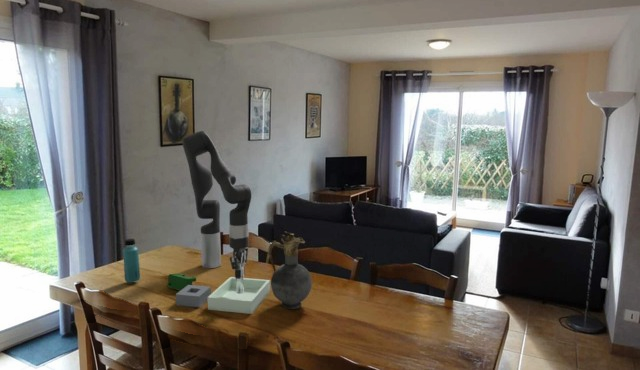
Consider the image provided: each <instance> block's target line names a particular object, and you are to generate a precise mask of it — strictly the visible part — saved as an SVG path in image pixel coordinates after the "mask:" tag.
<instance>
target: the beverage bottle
mask: <svg viewBox="0 0 640 370" xmlns="http://www.w3.org/2000/svg"><path fill="white" fill-rule="evenodd" d="M124 245H125V246H126V247H124V248H123V249H122V254H123V255H122V256H123V257H122V258H123V270H124V275H123V276H124V281H125V282H127V283H134V282H138V281H140V279H141V269H140V256H139V248H138V247H137V246H136V240H135V239H134V238H128V239H125V240H124Z"/></svg>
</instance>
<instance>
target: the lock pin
mask: <svg viewBox="0 0 640 370" xmlns="http://www.w3.org/2000/svg"><path fill="white" fill-rule="evenodd" d="M238 265H239V264H238ZM244 273H245V266H244V263H242V264H241V278H240V279H238V278H236V293H238V294H241V293H244V278H245V274H244Z"/></svg>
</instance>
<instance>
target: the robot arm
mask: <svg viewBox="0 0 640 370" xmlns="http://www.w3.org/2000/svg"><path fill="white" fill-rule="evenodd" d="M182 147H183V151H184V153H185V158H186V161H187V164H188V169H189V175H190V181H191V185H192V189H193V194H194V199H195V200H194V201H195V207H196V215H197V217H198V219H201V220H208V219H209V220H212V221H210V222H209V223H207V224H204V225H202V226H201V227H200V245H201V246H200V247H201V248H200V249H201V251H200V252H201V267H202V268H205V269H214V268H215V269H216V268H218V267H220V266H221V265H222V258H221V257H222V256H221V252H222V251H221V248H222V247H221V229H220V227H221V226H220V225H221V224H220V223H221V221H220V217H221V216H220V215H221V213H220V212H221V210H220V209H221V207H220V205H221V204H220V202H219V200H218V199H205V196H207V194H209V192H210V191H211V190H212V188H213V185H214V183H213V181H214V180H213V178H214V179H215V181H216V182H217V184H218V185H219V186H220V190H221V192H222V195H223V198H224V200H225V201H226V202H227V204H230V205H236V206H235V207H234V208H232V209H231V210H230V211H229V216H228V217H229V227H228V233H229V234H228V235H229V237H228V239H229V240H228V241H229V247H230V248H231V249H233V250H232V251H233V252H232V256H230V258H229V261H230V265H231V269H232V270H234V277H235V278H238V279H240V278H241V264H242V263H244V267H246V264H247V262H248V255H249V254H248V253H249V248H248V247H249V245H250V243H249V241H250V238H249V226H248V225H249V224H248V222H249V221H248V218H249V217H248V213H249V209H250V205H251V202H252V190H251V188H250V187H249V186H248V185H247V184H239V185H237V184H236V182H237V178H236V175H235V174H234V173H233V172H232V170H231V169H230V168H229V166H227V163H226V162H225V161H224V159H223V158H222V156H221V154H220V152H219V151H218V149H217V147H216V145H215V144H214V142H213V140H212V138H211V137H210V136H209V135H208V133H207V132H206V131H204V130H199V131H196V132H193V133H192V134H191V133H190V134H189V135H186V136H184V137H183V138H182ZM207 152H208V153H209V154H210V168H208V167H207V166H206V165H205V164H202V162H200V161H199V160H198V159H197V157H198V156H202V155H204V154H206V153H207ZM235 184H236V185H235ZM238 264H239V265H238ZM244 275H245V272H244Z"/></svg>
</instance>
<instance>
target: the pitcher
mask: <svg viewBox="0 0 640 370" xmlns="http://www.w3.org/2000/svg"><path fill="white" fill-rule="evenodd" d="M285 233H286V234H287V235H285V234H280V236H282V237H281V242H282V243H280V242H277V241H275V242H272V243H270V244H269V246H268V252H267V253H268V258H269V261H270V263H271V265H272V269H273V271H274V272H273V273H272V276H271V279H270V288H271V290H272V293H273V296H274V297H275V298H276V299H277V300H278V301H279V302H281V306H282V307H283V308H284V309H285V310H297V309H299V308H301V307H302V302H303V301H305V300H306V299H307V298H308V296H309V295H310V294H311V290H312V285H313V280H312V276H311V274H310V271H309V270H308V269H307V268H306V266H303V264H300V263H299V260H298V259H299V258H298V257H299V250H298V249H299V244H305V243H306V241H305V240H304V239H303V238H302V237H297V236H296V237H295V236H294V233H291V232H287V231H285ZM274 247H277V248H279V249H282V250H283V255H284V263H283V264H281V265H280V266H278V267H277V268H276V266H275V264H274V261H273V255H272V254H273V253H272V250H273V248H274Z"/></svg>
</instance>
